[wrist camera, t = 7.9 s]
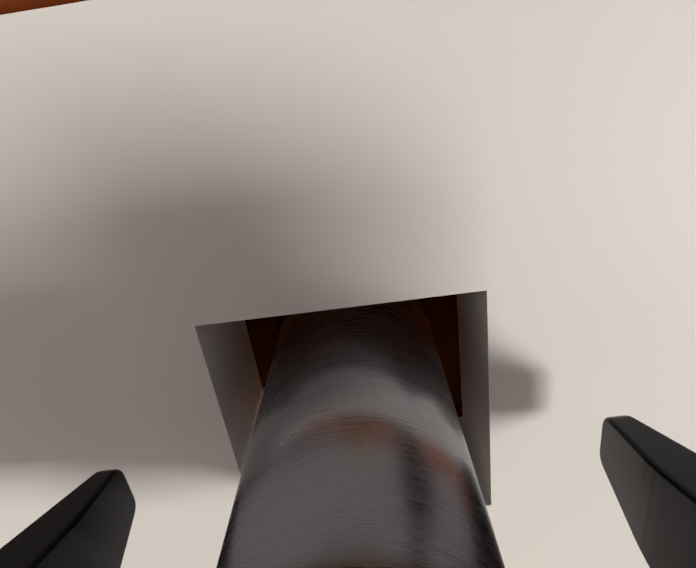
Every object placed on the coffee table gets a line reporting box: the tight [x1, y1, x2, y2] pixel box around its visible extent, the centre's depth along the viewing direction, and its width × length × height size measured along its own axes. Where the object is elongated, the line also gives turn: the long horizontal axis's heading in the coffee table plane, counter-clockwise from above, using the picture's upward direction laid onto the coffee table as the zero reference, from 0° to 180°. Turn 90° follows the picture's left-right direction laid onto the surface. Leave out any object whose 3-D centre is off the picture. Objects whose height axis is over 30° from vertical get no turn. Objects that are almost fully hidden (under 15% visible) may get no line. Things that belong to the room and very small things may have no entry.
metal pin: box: [216, 299, 505, 568], centre depth 8 cm, size 5×5×9 cm
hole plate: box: [0, 0, 696, 568], centre depth 11 cm, size 20×16×3 cm
